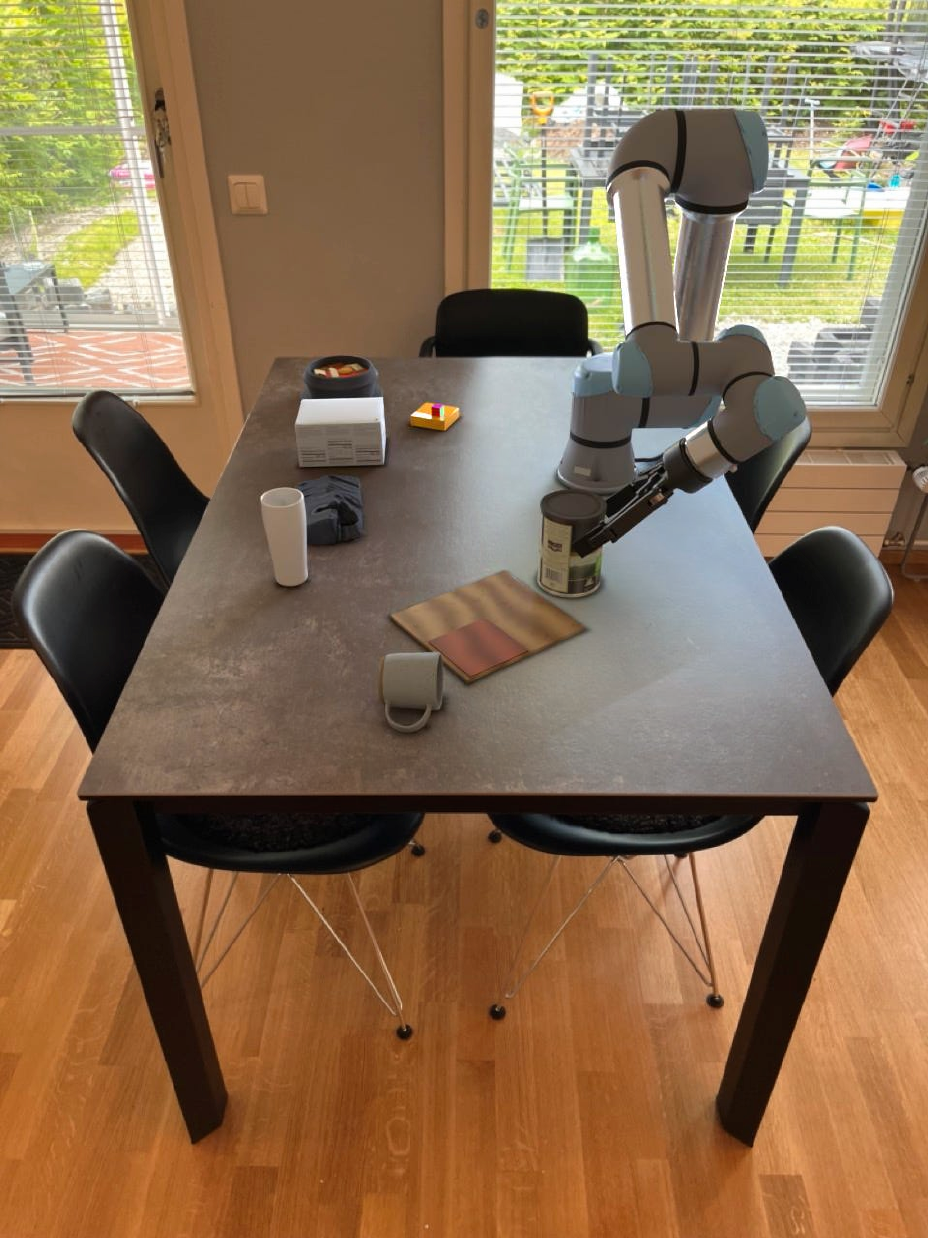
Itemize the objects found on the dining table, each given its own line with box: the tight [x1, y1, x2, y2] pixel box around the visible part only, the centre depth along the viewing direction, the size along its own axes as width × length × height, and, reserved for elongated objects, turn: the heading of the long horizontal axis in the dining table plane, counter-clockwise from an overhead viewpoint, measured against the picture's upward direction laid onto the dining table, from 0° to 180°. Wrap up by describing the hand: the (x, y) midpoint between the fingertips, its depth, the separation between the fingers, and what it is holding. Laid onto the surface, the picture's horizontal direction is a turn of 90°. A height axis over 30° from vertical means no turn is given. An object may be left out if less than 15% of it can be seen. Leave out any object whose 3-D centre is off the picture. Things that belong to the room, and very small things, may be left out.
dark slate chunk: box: [293, 473, 364, 546], centre depth 175 cm, size 15×22×5 cm
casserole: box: [299, 354, 384, 401], centre depth 217 cm, size 25×19×8 cm
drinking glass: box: [259, 487, 309, 587], centre depth 154 cm, size 7×7×15 cm
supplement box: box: [294, 396, 387, 468], centre depth 195 cm, size 17×13×9 cm
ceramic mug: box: [377, 651, 444, 733], centre depth 129 cm, size 11×8×8 cm
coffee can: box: [536, 488, 607, 599], centre depth 153 cm, size 10×10×14 cm
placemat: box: [390, 570, 586, 684], centre depth 147 cm, size 22×20×1 cm
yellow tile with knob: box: [410, 402, 460, 432], centre depth 209 cm, size 8×8×4 cm
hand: (590, 530), depth 150 cm, fingers open, 13 cm apart
